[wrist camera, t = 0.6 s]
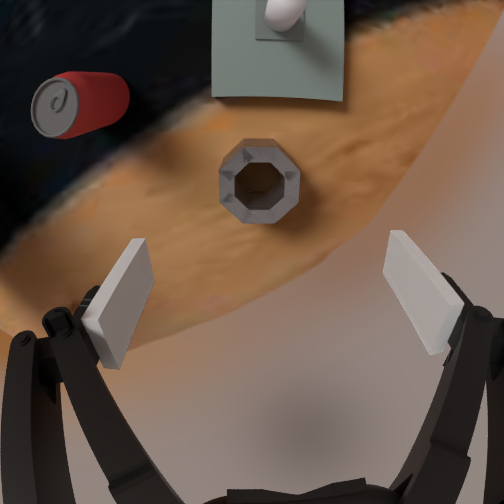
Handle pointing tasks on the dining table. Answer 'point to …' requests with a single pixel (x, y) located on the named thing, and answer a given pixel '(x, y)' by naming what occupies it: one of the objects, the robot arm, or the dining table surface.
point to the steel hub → (259, 203)
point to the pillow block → (278, 48)
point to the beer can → (78, 103)
